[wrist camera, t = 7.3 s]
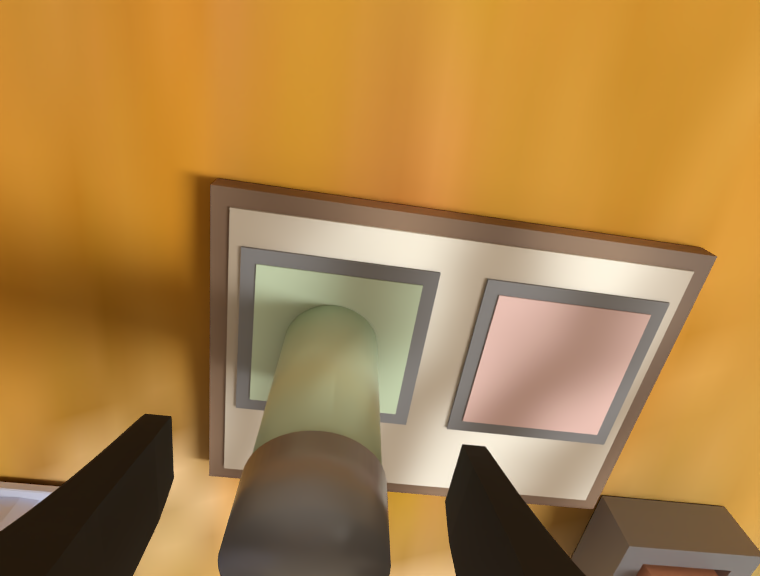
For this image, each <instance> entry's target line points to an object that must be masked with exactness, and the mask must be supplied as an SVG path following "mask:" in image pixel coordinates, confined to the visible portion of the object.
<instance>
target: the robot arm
mask: <svg viewBox="0 0 760 576" xmlns="http://www.w3.org/2000/svg"><path fill="white" fill-rule="evenodd" d="M173 479H174V472H173V445H172V418H171V416H163V415H152V414H144V415H143V416H142V417H140V418H139V419H138V420H137V421H136V422H135V423H134V424H132V425H131V426H130V427H129V428H128V429H127V430H126V431H125V432H124V433H122V434H121V435H120V436H119V437H118V438H117V439H116V440H115V441H113V442H112V443H111V444H110V445H109V446H108V447H107V448H105V449H104V450H103V451H102V452H101V453H100V454H99V455H97V456H96V457H95V458H94V459H93V460H92V461H90V462H89V463H88V464H87V465H86V466H84V467H83V468H82V469H81V470H80V471H78V472H77V473H76V474H75V475H74V476H72V477H71V478H70V479H69V480H68V481H66V482H65V483H64V484H63V485H61V486H48V485H36V484H24V483H12V482H0V576H133V574H134V572H135V570H136V568H137V566H138V564H139V562H140V560H141V558H142V556H143V554H144V551H145V549H146V547H147V545H148V543H149V541H150V539H151V537H152V535H153V533H154V530H155V528H156V526H157V524H158V522H159V519H160V517H161V514H162V511H163V508H164V506H165V503H166V500H167V497H168V494H169V491H170V488H171V485H172V482H173ZM445 504H446V516H447V527H448V536H449V544H450V549H451V554H452V559H453V563H454V568H455V573H456V576H586V575H585V574H584V573H583V572H582V571H581V570H580V569H579V568H578V566H577V565H576V564H575V563H574V562H573V561H572V560H571V559H570V558H569V556H568V555H567V554H566V553H565V552H564V550H563V549H562V548H561V547H560V546H559V544H558V543H557V542H556V541H555V540H554V539H553V537H552V536H551V535H550V534H549V532H548V531H547V530H546V529H545V527H544V526H543V525H542V524H541V522H540V521H539V520H538V518H537V517H536V516H535V514H534V513H533V512H532V510H531V509H530V508H529V506H528V505H527V504H526V502H525V501H524V500H523V498H522V497H521V496H520V494H519V493H518V492H517V490H516V489H515V487H514V486H513V485H512V483H511V482H510V480H509V479H508V478H507V476H506V475H505V473H504V472H503V470H502V469H501V468H500V466H499V465H498V463H497V462H496V460H495V459H494V458H493V456H492V455H491V453H490V452H489V451H488V449H487V448H486V446H477V445H466V444H462V447H461V450H460V453H459V457H458V460H457V463H456V467H455V470H454V473H453V477H452V480H451V483H450V487H449V490H448V494H447V497H446V500H445Z"/></svg>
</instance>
